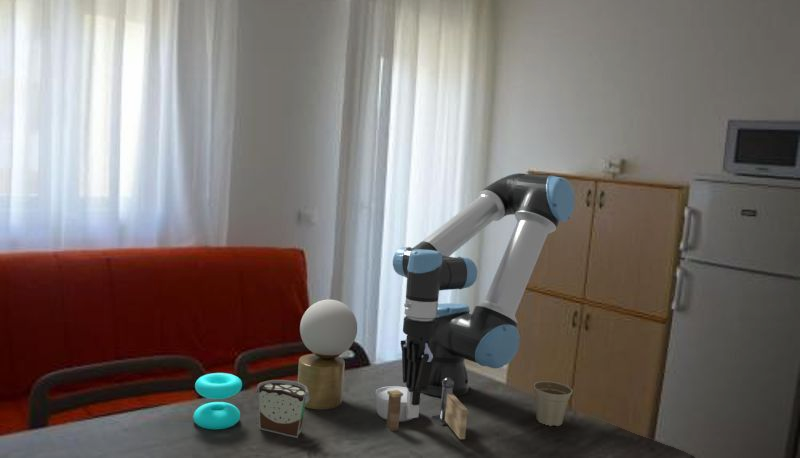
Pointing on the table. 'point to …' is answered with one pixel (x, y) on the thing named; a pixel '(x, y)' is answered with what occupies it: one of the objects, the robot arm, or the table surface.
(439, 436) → the table surface
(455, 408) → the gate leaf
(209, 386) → the donuts
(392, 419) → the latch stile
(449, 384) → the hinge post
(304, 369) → the lamp
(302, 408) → the food container
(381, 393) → the ramekin
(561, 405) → the flower pot
